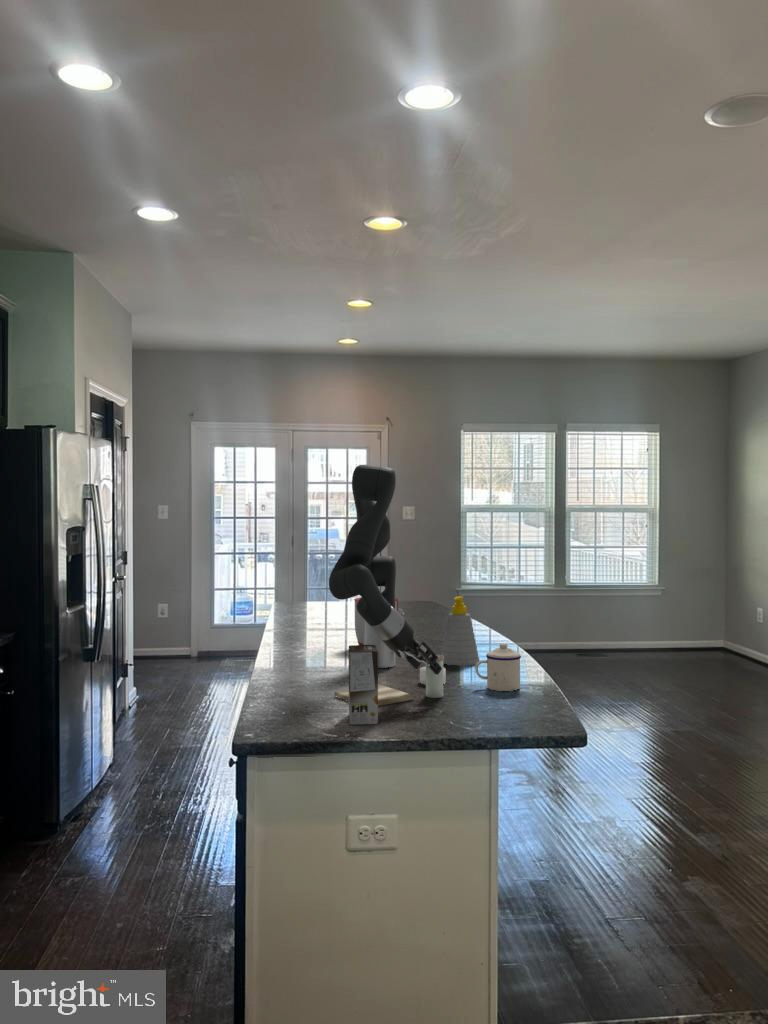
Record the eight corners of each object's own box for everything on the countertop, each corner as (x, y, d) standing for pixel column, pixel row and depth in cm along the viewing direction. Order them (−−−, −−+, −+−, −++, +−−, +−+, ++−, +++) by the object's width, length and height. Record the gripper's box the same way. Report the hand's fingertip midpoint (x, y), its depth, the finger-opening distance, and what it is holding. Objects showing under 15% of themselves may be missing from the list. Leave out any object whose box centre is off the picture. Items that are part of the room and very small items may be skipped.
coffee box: (378, 724, 169) (378, 651, 169) (349, 725, 168) (349, 651, 168) (375, 713, 178) (375, 644, 178) (348, 714, 178) (347, 644, 178)
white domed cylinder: (414, 682, 211) (414, 668, 211) (435, 679, 215) (435, 665, 215) (430, 687, 205) (430, 672, 205) (450, 684, 209) (450, 669, 209)
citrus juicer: (405, 652, 257) (404, 592, 257) (352, 652, 257) (352, 592, 257) (404, 644, 272) (404, 587, 272) (355, 644, 272) (354, 587, 273)
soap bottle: (434, 664, 236) (433, 597, 236) (446, 657, 247) (446, 593, 248) (473, 667, 231) (473, 599, 231) (484, 660, 243) (484, 595, 243)
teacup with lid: (518, 684, 208) (517, 641, 208) (523, 692, 199) (523, 646, 199) (473, 684, 208) (473, 641, 208) (477, 692, 199) (477, 647, 199)
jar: (421, 695, 196) (421, 656, 196) (436, 692, 199) (435, 653, 199) (433, 699, 192) (433, 658, 192) (448, 696, 195) (447, 656, 195)
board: (334, 696, 195) (334, 692, 195) (380, 689, 203) (380, 684, 203) (365, 708, 183) (365, 703, 183) (412, 699, 191) (412, 694, 191)
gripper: (417, 618, 183) (454, 661, 190) (383, 612, 195) (419, 653, 202) (399, 643, 180) (438, 686, 187) (365, 635, 192) (403, 676, 199)
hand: (428, 668), depth 194 cm, fingers open, 8 cm apart
